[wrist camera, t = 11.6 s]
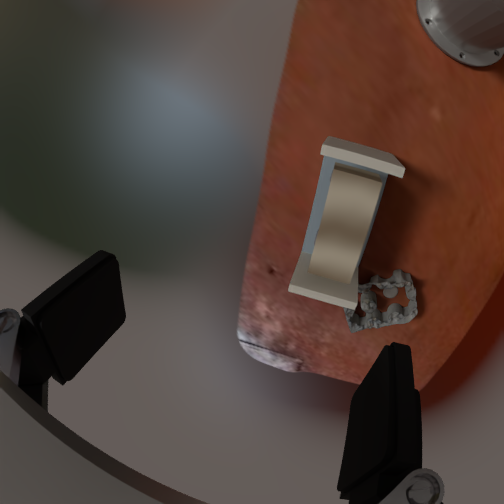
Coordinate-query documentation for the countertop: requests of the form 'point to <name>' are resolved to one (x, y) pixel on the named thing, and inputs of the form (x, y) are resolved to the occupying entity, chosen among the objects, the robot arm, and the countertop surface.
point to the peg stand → (332, 153)
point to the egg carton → (394, 311)
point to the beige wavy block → (345, 222)
